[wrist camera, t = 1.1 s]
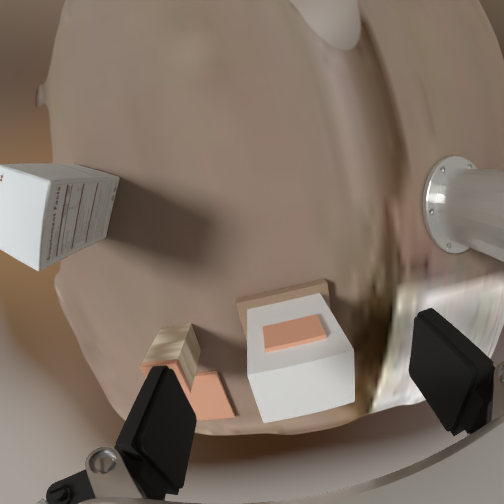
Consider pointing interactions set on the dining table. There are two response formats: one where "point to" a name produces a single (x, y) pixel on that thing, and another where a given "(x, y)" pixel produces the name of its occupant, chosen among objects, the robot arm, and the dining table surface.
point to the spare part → (175, 354)
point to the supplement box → (53, 210)
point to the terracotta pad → (209, 397)
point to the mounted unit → (296, 352)
